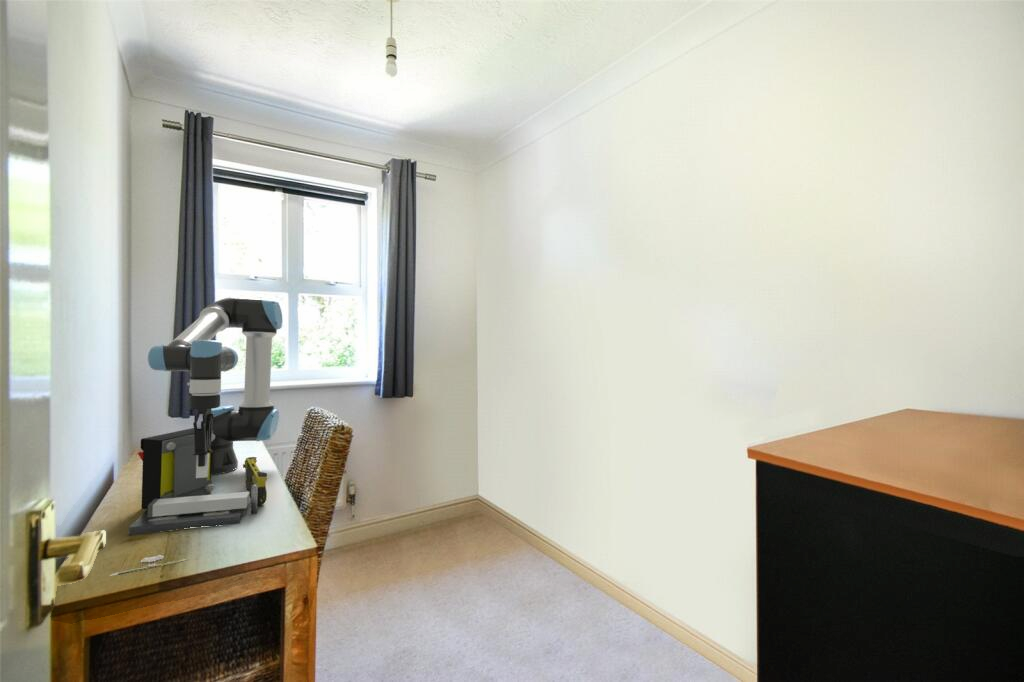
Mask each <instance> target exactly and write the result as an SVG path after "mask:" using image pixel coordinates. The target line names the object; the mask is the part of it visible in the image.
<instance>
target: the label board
mask: <svg viewBox="0 0 1024 682" xmlns="http://www.w3.org/2000/svg"><path fill="white" fill-rule="evenodd" d="M257 495H258V485H257V484H255V485H251V498H250V515H253V516H254V515H257V514H258V507H257ZM246 510H247V508H241V509H230V510H219V511H208V512H198V513H187V514H176V515H166V516H155V517H150V518H148V509H147V510H146V509H145V511H144V512H143V513H142V514H141V515H140V516H138V518H136V520H135V521H133V522H132V523H131V524H130V526H128V536H134V535H135V534H136V535H144V533H146V534H154V532H155V533H161V532H160V531H165V532H170V531H169V530H175V531H177V530H176V529H184V528H190V527H201V526H213V527H220V526H219V525H223V526H233V525H239V524H241V521H242V519H243V517H244V515H245V512H246ZM216 525H217V526H216ZM184 530H185V529H184ZM136 535H135V536H136Z"/></svg>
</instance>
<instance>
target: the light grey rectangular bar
mask: <svg viewBox="0 0 1024 682" xmlns="http://www.w3.org/2000/svg"><path fill="white" fill-rule="evenodd" d="M249 503H250V492H247V491H242V492H241V491H238V492H229V493H217V494H216V493H214V494H204V495H201V496H190V497H177V498H165V499H154V500H153V501H152V502H151V503H150V504H149V505H148V518H150V517H155V516H166V515H176V514H187V513H198V512H208V511H219V510H230V509H241V508H246V509H248V506H249Z"/></svg>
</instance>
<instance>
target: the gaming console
mask: <svg viewBox="0 0 1024 682" xmlns="http://www.w3.org/2000/svg"><path fill="white" fill-rule="evenodd" d="M257 462H258V461H257V456H249V457H246V458H245V460H244V463H243V464H242V468H243V469H244V471H245V472H244V473H245V474H244V475H245V477H244V478H245V479H244V480H245V481H244V483H245V489H246V492H250V496H249V499H251V485H255V484H257V485H258V495H257V508H258V507H259V508H260V507H261V506H263V505H264V504H266V502H267V498H268V497H267V493H268V491H267V481H268V478H269V477H268V472H264V471H261V470H260V468H259V467H258V465H257V464H256V463H257Z"/></svg>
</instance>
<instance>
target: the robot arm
mask: <svg viewBox="0 0 1024 682" xmlns="http://www.w3.org/2000/svg"><path fill="white" fill-rule="evenodd" d="M282 327H283V314H282V308H281V305H280V303H279V302H278V300H276V299H274V298H267V297H243V296H231V297H226V298H222V299H219V300H216V301H214V302H212V303H211V304H209V305H208V306H206V307H205V308H203V309H202V310H201V311H200V313H199V317H198V318H197V319H196V320H195V321H193V323H191V324H190V325H188V327H186V328H185V329H184V330H183V331H182V332H181V333H180V334H179V335H178V336H176V338H174V339H173V340H172V341H171V342H170V343H168V345H164V344H161V345H155V346H152V347H151V348H150V350H149V352H148V354H147V362H148V365H149V367H150V368H151V369H152V370H153V371H158V372H159V371H161V372H162V371H163V372H189V382H187V383H186V385H187V387H189V388H188V389H189V394H191V395H189V396H188V408H189V409H191V410H192V409H193V410H197V411H196V414H195V415H194V417H193V419H194V420H193V423H192V425H193V428H194V440H195V453H193V455H197V459H196V478H205V477H208V468H209V453H212V460H211V474H212V475H218V474H219V473H220V474H224V473H223V472H225V473H229V472H232V471H231V470H233V469H235V468H237V467H238V468H239V461H238V458H237V455H236V452H235V449H234V442H262V441H263V442H264V441H269V440H271V439H272V438H273V437H274V436H275V434H276V431H277V429H278V425H279V419H280V415H279V410H278V409H276V408H275V409H274V407H275V405H274V403H273V402H272V401H271V400H270V396H271V375H272V374H271V371H272V368H271V367H272V350H273V349H272V348H273V345H272V344H273V343H272V342H273V338H274V337H275V336H276V335H277V332H278V331H277V330H281V329H282ZM230 328H235V329H236V328H237V329H241V333H242V334H243V335H244V337H245V338H246V341H245V345H246V346H245V364H244V365H245V367H244V388H243V389H244V390H243V391H244V393H243V401H242V402H241V403H240V404H239V405H238V409H236V408H235V406H234V405H222V406H221V395H220V393H221V391H222V390H221V389H222V372H224V373H225V372H227V371H228V372H229V371H230V370H232V369H234V368H235V367H236V366H237V365H238V362H239V355H238V353H237V351H235V350H234V349H233V348H231V347H228V346H223V343H222V342H221V340H214V339H213V338H214V337H215V336H216V335H217V334H218V333H220V332H222V331H224V330H226V329H230ZM212 339H213V340H212ZM212 430H213V434H214V435H215V439H214V440H213V441H212V450H209V449H211V438H212ZM238 468H237V469H238ZM235 470H236V469H235ZM228 471H229V472H228ZM233 471H234V470H233Z"/></svg>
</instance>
